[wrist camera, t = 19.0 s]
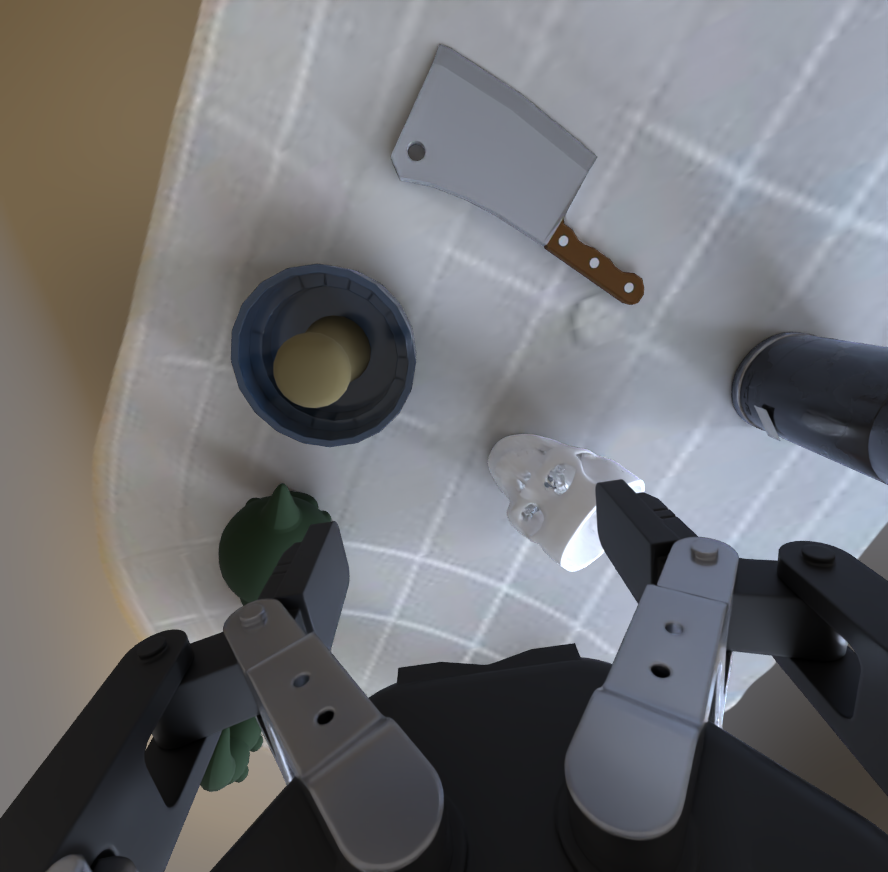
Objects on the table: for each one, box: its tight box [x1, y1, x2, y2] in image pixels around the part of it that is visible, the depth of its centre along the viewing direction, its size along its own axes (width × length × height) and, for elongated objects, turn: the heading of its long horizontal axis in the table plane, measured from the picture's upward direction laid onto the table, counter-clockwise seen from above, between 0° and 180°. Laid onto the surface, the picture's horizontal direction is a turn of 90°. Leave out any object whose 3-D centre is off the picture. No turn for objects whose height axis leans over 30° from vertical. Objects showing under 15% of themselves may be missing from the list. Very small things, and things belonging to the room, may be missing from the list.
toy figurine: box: [200, 483, 331, 792], centre depth 39 cm, size 9×19×25 cm
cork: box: [273, 315, 371, 408], centre depth 35 cm, size 6×6×11 cm
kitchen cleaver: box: [391, 44, 644, 305], centre depth 37 cm, size 24×1×10 cm
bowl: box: [231, 264, 416, 447], centre depth 39 cm, size 14×14×6 cm
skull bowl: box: [488, 434, 645, 572], centre depth 43 cm, size 10×14×12 cm
